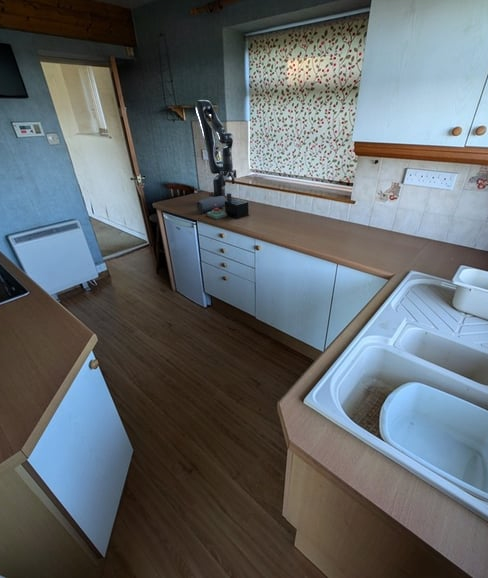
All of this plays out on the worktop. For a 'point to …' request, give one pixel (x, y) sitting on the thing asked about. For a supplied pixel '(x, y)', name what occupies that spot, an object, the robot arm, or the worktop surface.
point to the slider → (229, 197)
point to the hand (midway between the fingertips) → (228, 184)
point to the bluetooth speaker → (211, 204)
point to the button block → (216, 214)
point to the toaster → (236, 208)
